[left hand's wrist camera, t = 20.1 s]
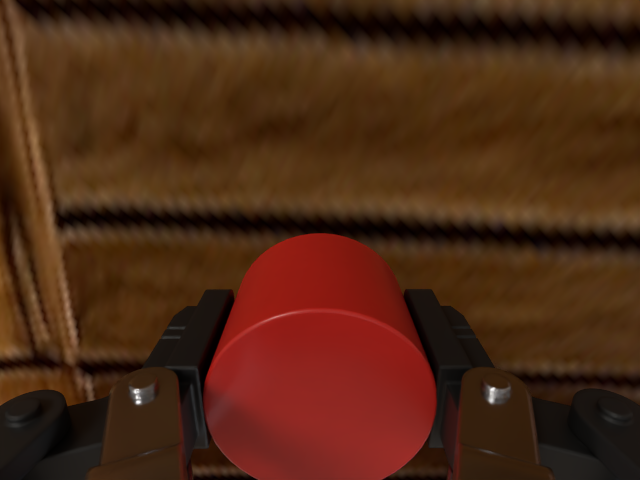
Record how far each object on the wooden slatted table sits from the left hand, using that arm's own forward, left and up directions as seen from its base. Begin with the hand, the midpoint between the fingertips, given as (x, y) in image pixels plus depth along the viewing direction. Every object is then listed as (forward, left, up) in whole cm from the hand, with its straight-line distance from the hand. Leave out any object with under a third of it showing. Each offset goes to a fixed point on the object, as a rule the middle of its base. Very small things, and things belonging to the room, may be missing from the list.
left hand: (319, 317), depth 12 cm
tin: (0, 0, -1) cm, 1 cm away
